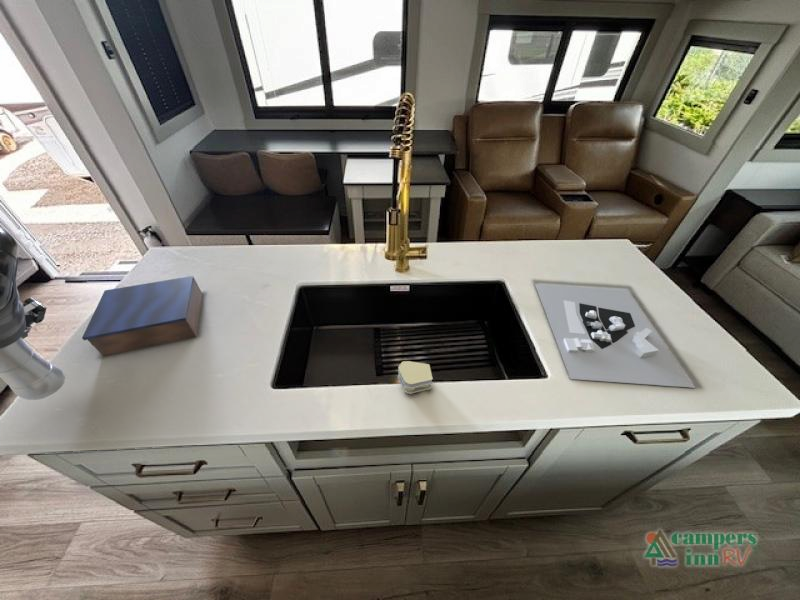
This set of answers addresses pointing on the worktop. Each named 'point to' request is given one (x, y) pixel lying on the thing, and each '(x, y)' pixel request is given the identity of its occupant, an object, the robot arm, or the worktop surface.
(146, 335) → the lidded box
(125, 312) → the box lid
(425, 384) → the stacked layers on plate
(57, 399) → the worktop surface
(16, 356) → the plastic bottle
